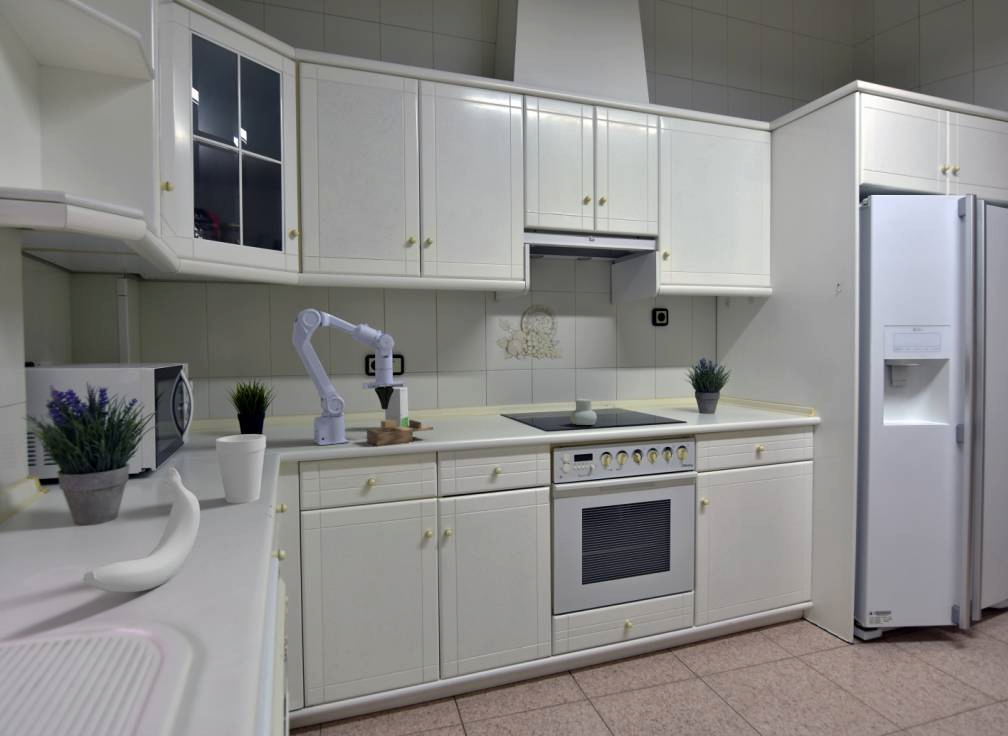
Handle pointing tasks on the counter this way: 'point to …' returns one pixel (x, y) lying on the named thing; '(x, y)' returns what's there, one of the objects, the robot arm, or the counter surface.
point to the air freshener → (583, 413)
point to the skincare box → (398, 407)
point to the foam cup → (241, 466)
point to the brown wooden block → (388, 436)
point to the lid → (413, 427)
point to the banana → (166, 553)
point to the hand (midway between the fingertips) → (384, 409)
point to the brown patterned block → (388, 423)
